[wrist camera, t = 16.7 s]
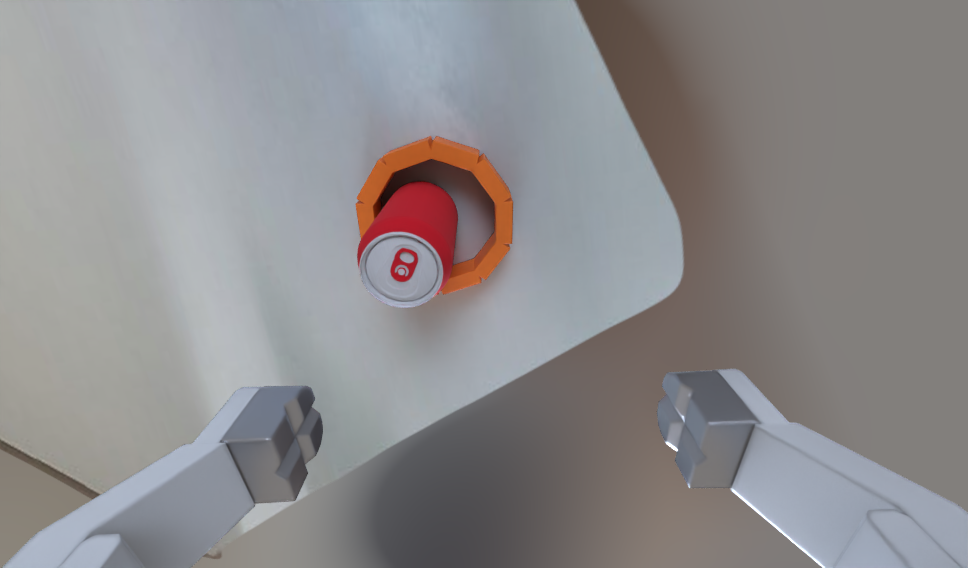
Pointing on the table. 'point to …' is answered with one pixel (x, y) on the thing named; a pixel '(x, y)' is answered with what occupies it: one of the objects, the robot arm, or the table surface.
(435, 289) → the beverage can
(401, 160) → the ring
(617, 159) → the table surface
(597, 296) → the table surface
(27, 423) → the table surface
